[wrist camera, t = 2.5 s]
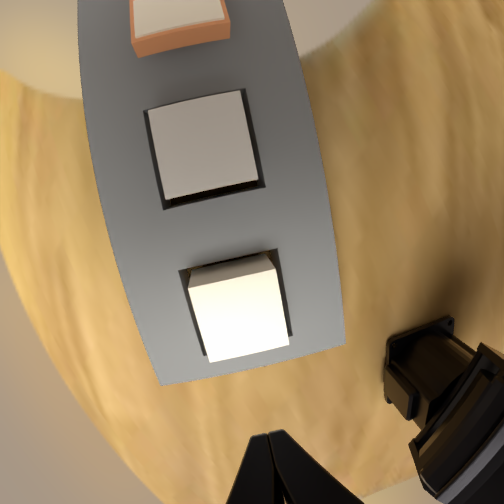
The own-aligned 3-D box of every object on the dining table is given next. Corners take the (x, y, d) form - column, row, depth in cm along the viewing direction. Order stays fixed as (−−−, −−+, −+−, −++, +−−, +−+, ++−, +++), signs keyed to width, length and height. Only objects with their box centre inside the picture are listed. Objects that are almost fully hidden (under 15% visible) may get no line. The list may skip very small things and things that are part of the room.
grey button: (235, 105, 15) (239, 90, 12) (250, 179, 16) (258, 179, 13) (159, 122, 15) (147, 110, 12) (174, 196, 16) (165, 199, 13)
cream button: (265, 253, 17) (275, 268, 14) (277, 319, 18) (289, 344, 15) (192, 269, 17) (187, 288, 14) (209, 334, 18) (209, 362, 15)
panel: (258, -27, 15) (267, -60, 11) (329, 322, 20) (351, 351, 17) (92, 8, 14) (72, -19, 10) (166, 359, 20) (158, 395, 16)
